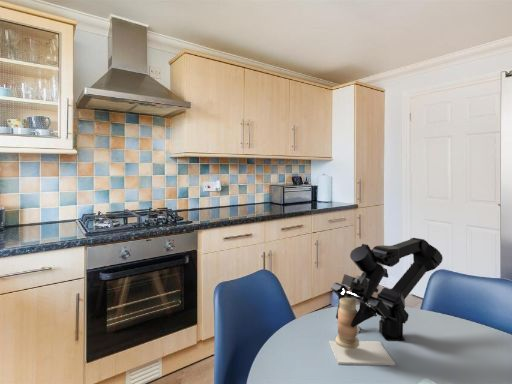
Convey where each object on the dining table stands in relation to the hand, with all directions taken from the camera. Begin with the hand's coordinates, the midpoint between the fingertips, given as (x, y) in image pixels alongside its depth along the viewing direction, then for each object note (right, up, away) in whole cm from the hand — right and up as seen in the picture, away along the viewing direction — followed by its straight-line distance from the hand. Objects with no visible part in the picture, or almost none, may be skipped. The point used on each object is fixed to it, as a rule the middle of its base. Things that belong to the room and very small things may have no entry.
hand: (344, 322), depth 94 cm
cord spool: (+1, -7, +1) cm, 7 cm away
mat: (+5, -10, +1) cm, 11 cm away
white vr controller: (+6, -9, +17) cm, 20 cm away
